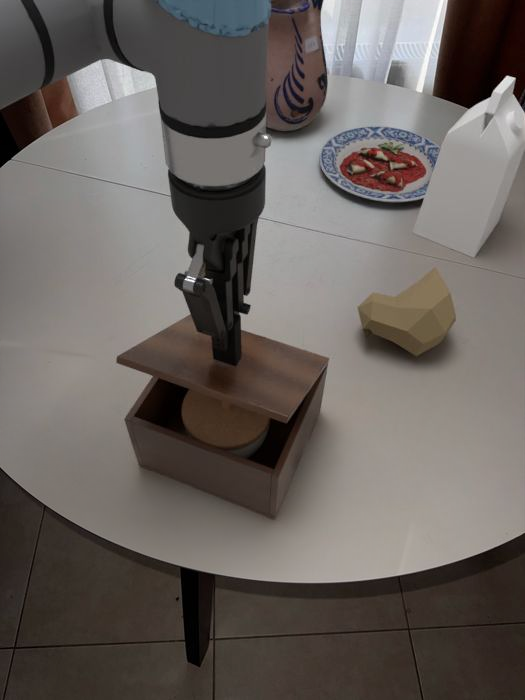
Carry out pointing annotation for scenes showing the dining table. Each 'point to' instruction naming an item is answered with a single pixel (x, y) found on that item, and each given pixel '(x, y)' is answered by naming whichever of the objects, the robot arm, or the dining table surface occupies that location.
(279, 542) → the dining table surface
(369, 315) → the tan faceted lump
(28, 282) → the dining table surface
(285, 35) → the ceramic pitcher
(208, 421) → the trinket box
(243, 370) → the lid
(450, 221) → the milk
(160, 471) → the chest
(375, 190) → the ceramic plate
